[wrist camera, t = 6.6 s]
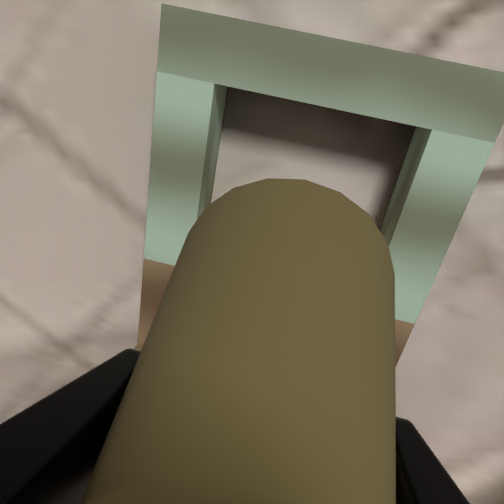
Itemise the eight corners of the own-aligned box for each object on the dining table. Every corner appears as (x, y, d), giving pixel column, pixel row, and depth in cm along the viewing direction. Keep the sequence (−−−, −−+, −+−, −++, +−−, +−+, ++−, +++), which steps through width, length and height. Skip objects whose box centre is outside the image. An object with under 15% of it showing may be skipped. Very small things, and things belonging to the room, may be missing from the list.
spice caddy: (307, 530, 30) (305, 586, 27) (140, 483, 31) (119, 533, 28) (497, 72, 16) (537, 78, 13) (183, 9, 17) (150, 0, 14)
